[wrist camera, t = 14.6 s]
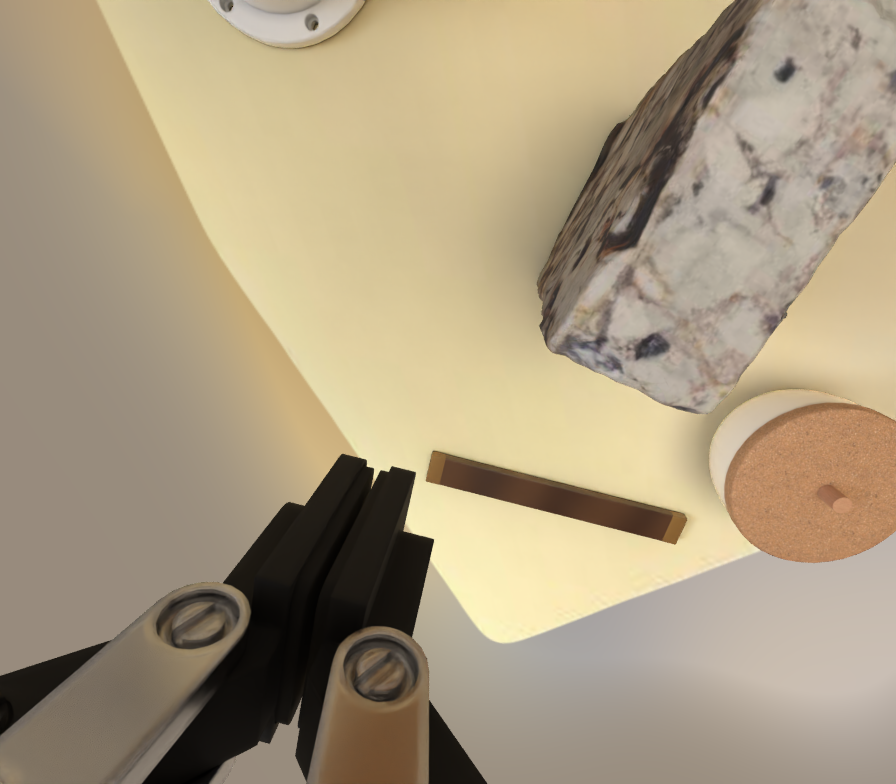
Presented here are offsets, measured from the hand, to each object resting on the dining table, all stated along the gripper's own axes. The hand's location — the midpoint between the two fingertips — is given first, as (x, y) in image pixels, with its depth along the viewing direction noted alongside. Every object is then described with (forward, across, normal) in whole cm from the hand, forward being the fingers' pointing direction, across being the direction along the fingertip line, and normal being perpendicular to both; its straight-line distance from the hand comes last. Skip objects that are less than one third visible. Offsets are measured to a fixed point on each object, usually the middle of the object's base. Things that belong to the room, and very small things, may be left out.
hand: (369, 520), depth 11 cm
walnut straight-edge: (+27, -10, +13) cm, 32 cm away
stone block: (+27, -8, -8) cm, 30 cm away
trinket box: (+27, -24, +4) cm, 37 cm away
